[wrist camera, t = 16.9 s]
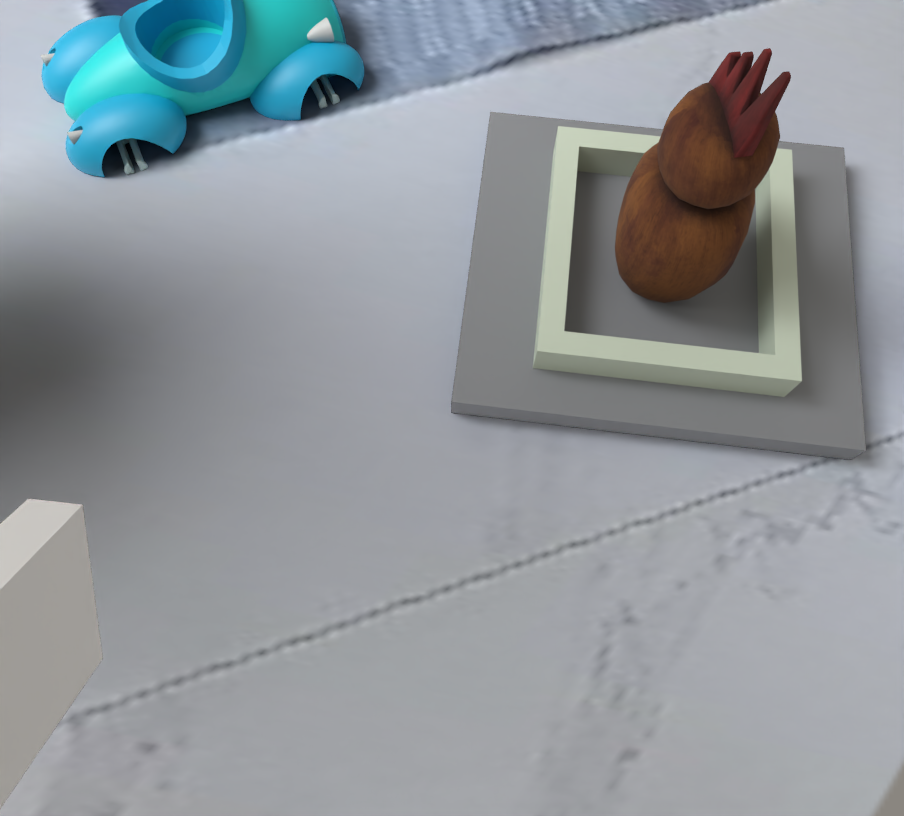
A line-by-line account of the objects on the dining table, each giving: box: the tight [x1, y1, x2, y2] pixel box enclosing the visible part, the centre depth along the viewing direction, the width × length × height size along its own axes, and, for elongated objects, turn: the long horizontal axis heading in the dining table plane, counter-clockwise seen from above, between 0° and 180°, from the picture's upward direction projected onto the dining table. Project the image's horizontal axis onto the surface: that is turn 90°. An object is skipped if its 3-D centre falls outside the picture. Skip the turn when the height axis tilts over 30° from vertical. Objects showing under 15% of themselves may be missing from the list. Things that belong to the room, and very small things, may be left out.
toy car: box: [41, 0, 364, 177], centre depth 44 cm, size 11×18×7 cm, turn 114°
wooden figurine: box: [615, 48, 791, 303], centre depth 33 cm, size 7×6×15 cm
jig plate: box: [451, 112, 866, 460], centre depth 40 cm, size 20×18×4 cm
